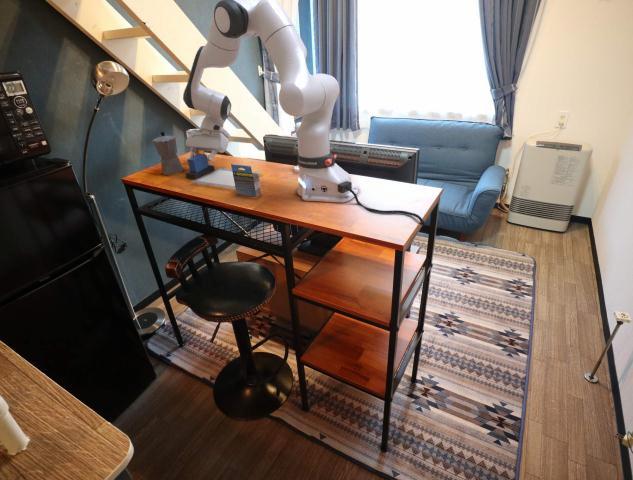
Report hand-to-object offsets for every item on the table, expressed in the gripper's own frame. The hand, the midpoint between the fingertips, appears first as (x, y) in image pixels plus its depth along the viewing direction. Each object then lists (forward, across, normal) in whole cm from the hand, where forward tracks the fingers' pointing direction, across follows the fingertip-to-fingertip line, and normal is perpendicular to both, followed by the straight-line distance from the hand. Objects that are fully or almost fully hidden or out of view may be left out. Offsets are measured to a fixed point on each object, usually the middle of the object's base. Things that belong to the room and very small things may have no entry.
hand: (200, 159), depth 147 cm
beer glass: (-5, -15, +15) cm, 22 cm away
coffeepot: (+6, -18, +5) cm, 20 cm away
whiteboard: (+6, +14, +4) cm, 16 cm away
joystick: (-8, +41, +18) cm, 45 cm away
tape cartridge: (+14, +33, -4) cm, 36 cm away
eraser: (+6, 0, +4) cm, 7 cm away
